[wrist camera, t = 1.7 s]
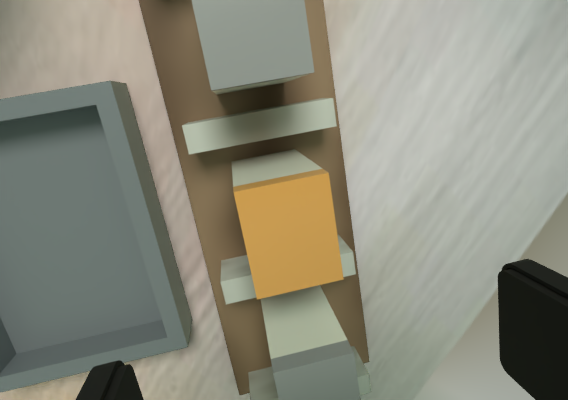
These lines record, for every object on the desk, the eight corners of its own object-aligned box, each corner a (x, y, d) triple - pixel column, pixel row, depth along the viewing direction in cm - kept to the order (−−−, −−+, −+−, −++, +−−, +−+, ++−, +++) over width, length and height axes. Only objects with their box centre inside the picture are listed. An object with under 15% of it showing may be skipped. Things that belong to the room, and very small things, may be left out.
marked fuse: (294, 149, 23) (328, 173, 15) (307, 223, 24) (343, 279, 17) (231, 161, 22) (233, 192, 15) (247, 236, 24) (256, 299, 16)
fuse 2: (315, 277, 25) (354, 352, 18) (325, 338, 27) (365, 432, 19) (259, 290, 25) (273, 373, 17) (272, 351, 26) (290, 453, 19)
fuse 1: (268, -11, 20) (293, -78, 13) (284, 82, 22) (314, 72, 14) (196, 0, 20) (177, -63, 12) (217, 94, 21) (211, 90, 14)
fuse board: (309, -74, 21) (327, -111, 17) (365, 354, 29) (385, 391, 25) (128, -49, 20) (106, -83, 16) (239, 387, 28) (241, 430, 24)
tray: (126, 83, 21) (110, 80, 18) (192, 319, 26) (187, 347, 23) (-97, 121, 20) (-151, 124, 17) (13, 361, 25) (-16, 396, 22)
